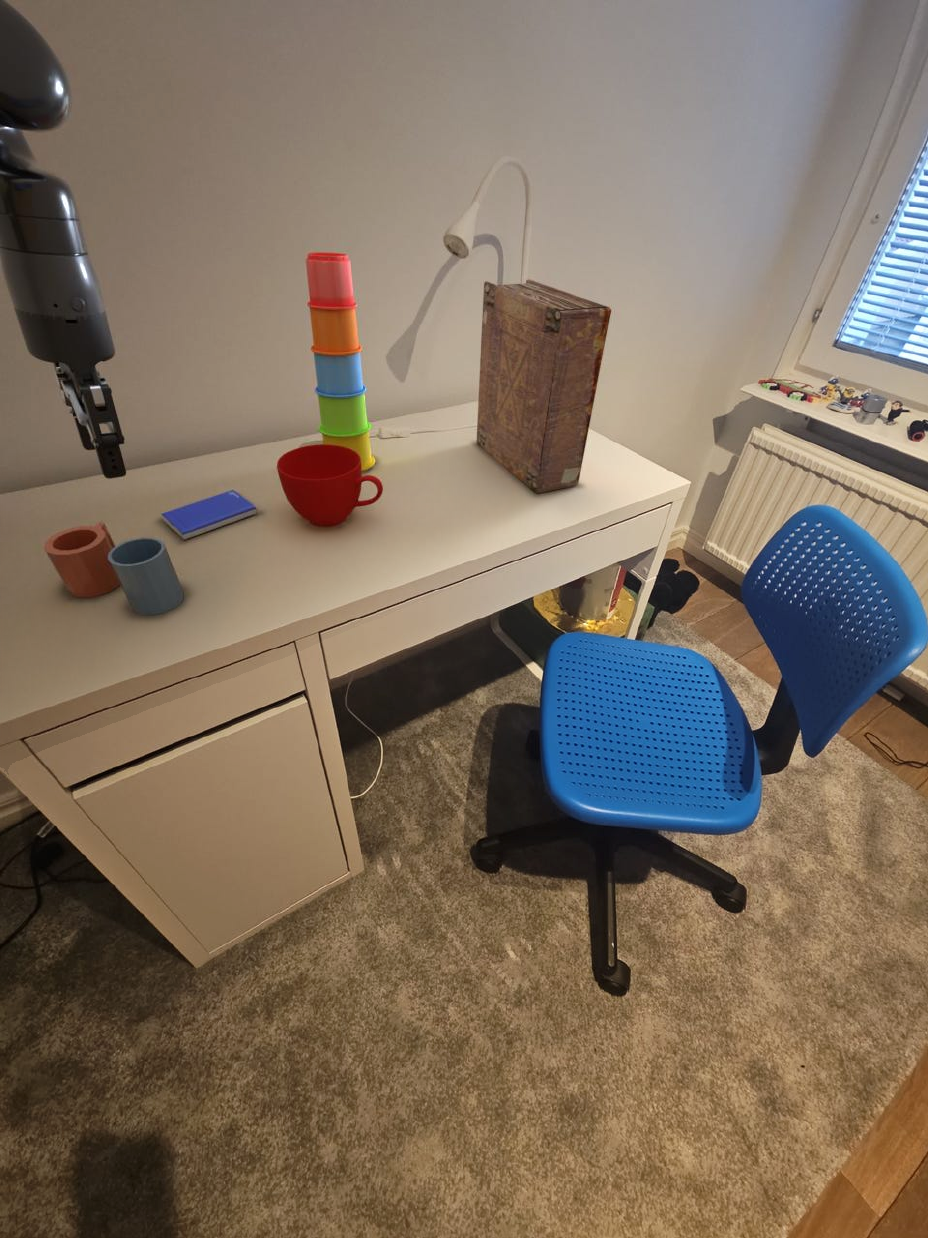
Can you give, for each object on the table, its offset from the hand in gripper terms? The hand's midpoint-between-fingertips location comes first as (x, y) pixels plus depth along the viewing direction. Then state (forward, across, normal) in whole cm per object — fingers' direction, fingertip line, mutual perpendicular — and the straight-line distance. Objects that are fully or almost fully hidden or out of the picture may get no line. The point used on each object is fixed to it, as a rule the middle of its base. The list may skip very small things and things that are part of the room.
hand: (104, 461), depth 63 cm
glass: (+18, +3, +1) cm, 19 cm away
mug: (+19, -7, -3) cm, 21 cm away
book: (+11, +3, +72) cm, 73 cm away
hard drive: (+18, -14, +15) cm, 27 cm away
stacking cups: (+15, -18, +44) cm, 49 cm away
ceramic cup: (+15, -1, +31) cm, 35 cm away
